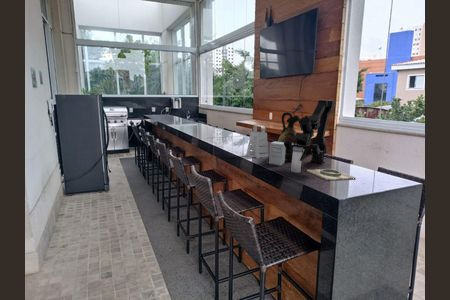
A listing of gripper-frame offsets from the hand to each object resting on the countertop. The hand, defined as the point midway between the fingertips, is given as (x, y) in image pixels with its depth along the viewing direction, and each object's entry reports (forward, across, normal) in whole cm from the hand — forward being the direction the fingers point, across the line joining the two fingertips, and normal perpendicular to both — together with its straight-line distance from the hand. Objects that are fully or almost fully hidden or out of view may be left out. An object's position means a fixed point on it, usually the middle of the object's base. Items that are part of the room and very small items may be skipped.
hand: (295, 159), depth 144 cm
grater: (-10, -36, +19) cm, 42 cm away
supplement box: (-2, -16, +12) cm, 20 cm away
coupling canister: (+4, 0, +6) cm, 7 cm away
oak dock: (-1, +16, +11) cm, 19 cm away
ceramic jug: (-15, -18, +24) cm, 34 cm away
